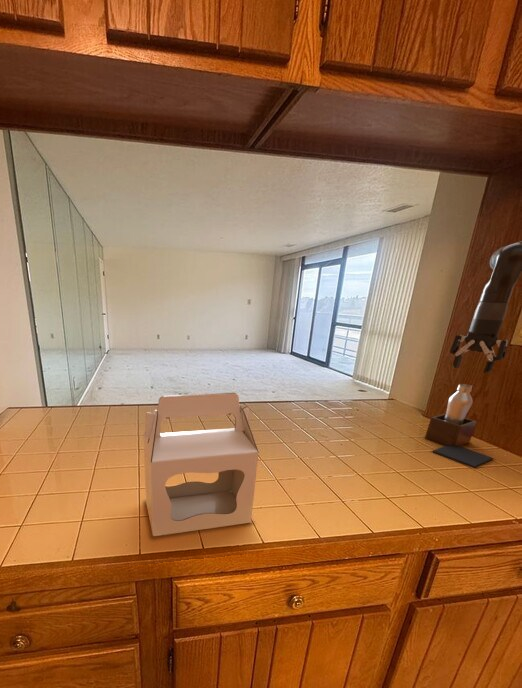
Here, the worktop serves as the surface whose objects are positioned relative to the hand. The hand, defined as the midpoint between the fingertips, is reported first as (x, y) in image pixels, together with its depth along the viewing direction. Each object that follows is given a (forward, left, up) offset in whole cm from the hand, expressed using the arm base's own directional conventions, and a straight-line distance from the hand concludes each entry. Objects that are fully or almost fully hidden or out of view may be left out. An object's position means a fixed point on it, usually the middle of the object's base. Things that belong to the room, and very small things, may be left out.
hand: (470, 370), depth 112 cm
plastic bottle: (0, 0, -25) cm, 25 cm away
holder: (0, 0, -25) cm, 25 cm away
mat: (+9, +9, -25) cm, 28 cm away
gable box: (+99, -5, -25) cm, 103 cm away
